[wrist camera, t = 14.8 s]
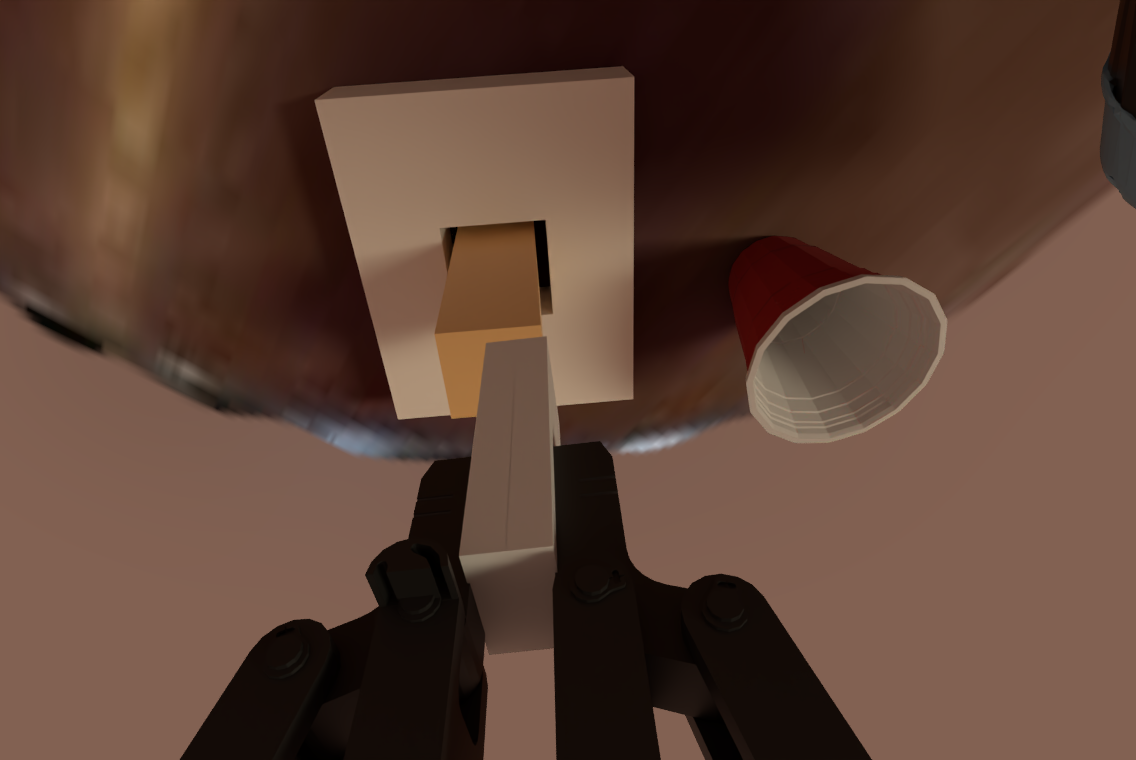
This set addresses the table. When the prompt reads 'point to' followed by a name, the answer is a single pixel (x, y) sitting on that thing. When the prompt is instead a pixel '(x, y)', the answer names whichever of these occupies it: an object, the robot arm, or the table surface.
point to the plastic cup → (829, 340)
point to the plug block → (485, 304)
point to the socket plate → (492, 212)
